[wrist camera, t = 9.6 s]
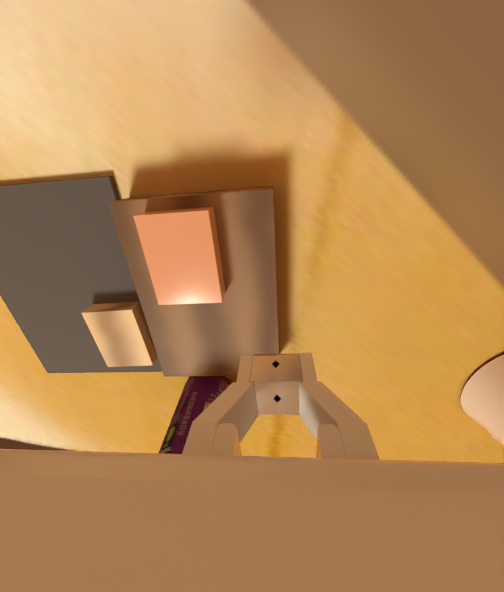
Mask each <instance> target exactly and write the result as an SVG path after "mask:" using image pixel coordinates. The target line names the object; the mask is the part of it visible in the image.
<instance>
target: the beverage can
mask: <svg viewBox="0 0 504 592" xmlns="http://www.w3.org/2000/svg"><path fill="white" fill-rule="evenodd" d="M229 386H230V384H229V383H228V382H226V381H225V380H224V379H222V378H220V377H218V376H194V377H192V378H191V379H189V380H188V381H187V382H186V384H185V386H184V389H183V392H182V394H181V397H180V399H179V402H178V404H177V407H176V409H175V412H174V415H173V417H172V420H171V422H170V425H169V427H168V430H167V433H166V435H165V438H164V440H163V443H162V445H161V448H160V451H159V454H182V452H183V449H184V446H185V443H186V440H187V437H188V434H189V431H190V428H191V425H192V422H193V421H194V420H195V419H196V418H197V417H198V416H199V415H200V414H201V413H202V412H203V411H204V410H205V409H206V408H207V407H208V406H209V405H210V404H211V403H212V402H213V401H214V400H215V399H216V398H217V397H218V396H219V395H220V394H221V393H223V392H224V391H225V390H226V389H227V388H228V387H229Z"/></svg>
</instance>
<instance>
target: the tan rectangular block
mask: <svg viewBox="0 0 504 592" xmlns="http://www.w3.org/2000/svg"><path fill="white" fill-rule="evenodd" d="M82 315H83V318H84V320H85V322H86V324H87V326H88V328H89V330H90V332H91V334H92V336H93V338H94V340H95V342H96V344H97V346H98V348H99V350H100V352H101V354H102V356H103V358H104V360H105V362H106V364H107V366H108V367H122V366H149V365H153V364H154V363H155V361H156V359H157V358H158V356H157V352H156V349H155V346H154V343H153V340H152V337H151V334H150V331H149V328H148V325H147V322H146V319H145V316H144V312H143V309H142V306H141V303H140V301H134V302H119V303H104V304H92V305H91V306H90V307H88V308H87V309H86V310H85V311H83V312H82Z"/></svg>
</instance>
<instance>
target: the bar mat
mask: <svg viewBox="0 0 504 592" xmlns="http://www.w3.org/2000/svg"><path fill="white" fill-rule="evenodd" d="M116 200H119V197H118V193H117V190H116V187H115V183H114V180H113V177H112V176H106V177H95V178H84V179H73V180H62V181H51V182H40V183H28V184H17V185H6V186H0V296H1V297H2V299H3V301H4V302H5V304H6V306H7V307H8V309H9V310H10V312H11V314H12V315H13V317H14V319H15V320H16V322H17V323H18V325H19V327H20V328H21V330H22V332H23V333H24V335H25V337H26V338H27V340H28V341H29V343H30V345H31V346H32V348H33V350H34V351H35V353H36V355H37V356H38V358H39V359H40V361H41V363H42V364H43V366H44V368H45V369H46V371H47V372H48V373H85V372H163V371H162V368H161V365H160V362H159V359H158V358H157V359H156V361H155V363H154V364H153V365H149V366H122V367H108V366H107V364H106V362H105V360H104V358H103V356H102V354H101V352H100V350H99V348H98V346H97V344H96V342H95V340H94V338H93V336H92V334H91V332H90V330H89V328H88V326H87V324H86V322H85V320H84V318H83V315H82V312H83V311H85V310H86V309H87V308H88V307H90V306H91V305H92V304H104V303H119V302H134V301H140V300H139V297H138V294H137V291H136V288H135V285H134V282H133V279H132V275H131V272H130V269H129V266H128V263H127V260H126V257H125V254H124V251H123V248H122V245H121V242H120V238H119V235H118V232H117V229H116V226H115V223H114V220H113V217H112V214H111V211H110V208H109V205H108V202H111V201H116Z"/></svg>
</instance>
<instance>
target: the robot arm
mask: <svg viewBox="0 0 504 592" xmlns="http://www.w3.org/2000/svg"><path fill="white" fill-rule="evenodd" d="M461 405H462V408H463V410H464V411H465V413H466V414H467V415H468V416H470V417H471V418H472V419H473V420H475V421H476V422H477V423H479V424H480V425H481V426H482V427H483V428H485V429H486V430H487V432H488V433H489V434H490V435H491V436H492V437H493V438H494V439H496V440H498V441H499V442H500V443H501V444H502V445H503V446H504V354H503V355H501V356H499V357H497V358H495V359H494V360H492V361H490V362H489V363H487V364H486V365H484V366H483V367H482V368H480V369H479V370H478V371H477V372H476V373H475V374H474V375H473V376H472V377H471V378H470V379H469V380H468V382H467V383H466V385H465V387H464V389H463V391H462V394H461ZM261 414H289V415H300V417H301V419H302V420H303V422H304V423H305V424H306V426H307V427H308V429H309V430H310V431H311V433H312V434H313V436H314V437H315V439H316V440H317V454H316V458H300V457H265V456H242V454H241V449H240V442H241V441H242V439H243V438H244V436H245V435H246V433H247V432H248V430H249V429H250V427H251V426H252V424H253V423H254V421H255V420H256V418H257V417H258V415H261ZM0 592H504V463H481V462H446V461H411V460H380V459H379V456H378V454H377V451H376V448H375V445H374V443H373V440H372V437H371V434H370V432H369V429H368V426H367V424H366V423H365V422H364V421H363V420H362V419H361V418H360V417H359V416H358V415H356V414H355V413H354V412H353V411H352V410H351V409H350V408H349V407H348V406H347V405H346V404H345V403H344V402H342V401H341V400H340V399H339V398H338V397H337V396H336V395H335V394H334V393H333V392H332V391H331V390H330V389H328V388H327V387H326V386H325V385H324V384H323V383H322V382H317V377H316V372H315V367H314V362H313V357H312V354H311V353H294V354H242V355H241V359H240V364H239V369H238V375H237V380H236V382H233V383H232V384H231V385H230V386H229V387H228V388H227V389H226V390H225V391H224V392H223V393H221V394H220V395H219V396H218V397H217V398H216V399H215V400H214V401H213V402H212V403H211V404H210V405H209V406H208V407H207V408H206V409H205V410H204V411H203V412H202V413H201V414H200V415H199V416H198V417H197V418H196V419H195V420H194V421H193V422H192V425H191V428H190V431H189V434H188V437H187V440H186V443H185V446H184V449H183V452H182V454H159V453H123V452H87V451H50V450H49V451H48V450H13V449H0Z"/></svg>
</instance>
